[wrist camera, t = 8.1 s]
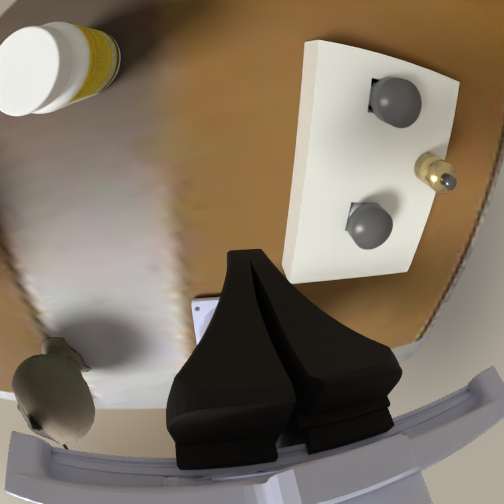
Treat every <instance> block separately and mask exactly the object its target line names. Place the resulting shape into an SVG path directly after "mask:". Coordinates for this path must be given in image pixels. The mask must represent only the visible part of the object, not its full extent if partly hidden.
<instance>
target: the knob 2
mask: <svg viewBox="0 0 504 504" xmlns="http://www.w3.org/2000/svg"><path fill="white" fill-rule="evenodd" d="M368 106H371V107H372V109H373V112H374V114H375V115H376V116H377V117H378V118H379V119H380V120H381V121H383V122H385V123H387V124H389V125H392V126H394V127H396V128H406V127H409V126H411V125H412V124H413V123H414V122H415V121H416V120H417V119H418V117H419V115H420V112H421V107H422V101H421V96H420V93H419V90H418V89H417V87H416V86H415V85H414V84H413V83H412V82H410V81H409V80H406V79H402V78H397V77H392V76H388V77H384V78H382V79H380V80H379V81H378V82H377V83H373V82H371V90H370V97H369V105H368Z"/></svg>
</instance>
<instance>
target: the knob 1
mask: <svg viewBox="0 0 504 504" xmlns="http://www.w3.org/2000/svg"><path fill="white" fill-rule="evenodd" d="M348 219H349V220H348V224H347V230H348V233H349V235H350V236H351V238H352V239H353V240H354V242H355V243H356V244H357V246H358V247H360V248H361V249H365V250H370V249H374V248H377V247H379V246H380V245H382V244H383V243H384V242H385V241H386V240H387V239H388V237H389V236H390V234H391V232H392V228H393V220H392V218H391V216H390V215H389V214H388V213H387V212H386V211H385V210H384V209H383V208H382V207H381V206H380V205H379V204H376V203H366V204H365V203H361V202H351V206H350V210H349V215H348Z"/></svg>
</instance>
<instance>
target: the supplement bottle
mask: <svg viewBox="0 0 504 504" xmlns="http://www.w3.org/2000/svg"><path fill="white" fill-rule="evenodd" d="M120 60H121V56H120V50H119V47H118V44H117V43H116V41H115V40H114V38H113V37H111V36H110V35H109V34H107V33H105V32H103V31H100V30H96V29H93V28H89V27H85V26H80V25H76V24H72V23H68V22H52V23H48V24H45V25H43V26H29V27H25V28H22V29H20V30H18V31H16V32H14V33H13V34H12V35H10V36H9V37H8V38H7V39H6V40H5V41H4V42H3V43H2V45H1V46H0V110H1V111H2V112H4V113H5V114H8V115H11V116H23V115H27V114H29V113H36V114H43V113H49V112H53V111H56V110H58V109H61V108H63V107H65V106H68V105H70V104H73V103H75V102H78V101H81V100H83V99H86V98H90V97H92V96H94V95H97V94H98V93H100V92H101V91H103V90H104V89H105V88H106V87H108V86H109V85H110V83H111V82H112V81H113V80H114V78H115V76H116V75H117V72H118V70H119V66H120Z"/></svg>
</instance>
